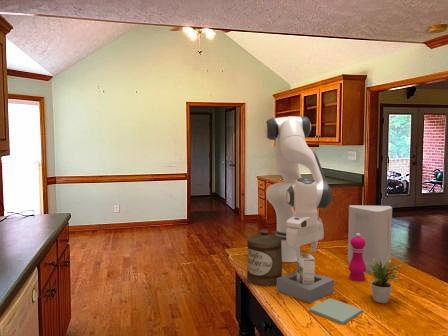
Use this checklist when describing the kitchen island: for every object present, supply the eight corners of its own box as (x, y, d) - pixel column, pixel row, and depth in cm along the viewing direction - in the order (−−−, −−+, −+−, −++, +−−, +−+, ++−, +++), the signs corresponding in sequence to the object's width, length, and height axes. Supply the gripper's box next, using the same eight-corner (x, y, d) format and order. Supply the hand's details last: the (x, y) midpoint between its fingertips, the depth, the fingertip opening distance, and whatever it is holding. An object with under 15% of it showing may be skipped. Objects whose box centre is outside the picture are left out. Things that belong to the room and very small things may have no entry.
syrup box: (295, 288, 152) (296, 253, 151) (310, 288, 152) (310, 253, 151) (299, 294, 146) (300, 258, 145) (314, 293, 147) (315, 257, 146)
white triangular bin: (354, 271, 172) (355, 210, 169) (347, 261, 186) (348, 205, 184) (397, 273, 169) (399, 211, 167) (387, 262, 184) (389, 206, 182)
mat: (309, 311, 132) (309, 308, 132) (329, 300, 140) (329, 298, 140) (342, 324, 122) (342, 321, 122) (362, 312, 131) (362, 309, 131)
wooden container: (240, 280, 161) (240, 229, 160) (261, 271, 172) (261, 223, 171) (268, 289, 151) (268, 235, 150) (288, 279, 162) (289, 229, 161)
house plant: (399, 313, 130) (401, 267, 129) (358, 304, 137) (359, 260, 136) (404, 298, 142) (406, 256, 141) (366, 291, 149) (367, 250, 148)
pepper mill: (367, 282, 159) (368, 235, 157) (349, 280, 160) (350, 234, 158) (364, 276, 166) (365, 231, 164) (347, 274, 167) (348, 230, 166)
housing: (276, 290, 150) (276, 278, 150) (300, 280, 161) (300, 269, 160) (310, 303, 138) (310, 290, 138) (333, 291, 149) (334, 279, 148)
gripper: (314, 215, 156) (314, 247, 157) (283, 222, 143) (283, 258, 143) (327, 217, 152) (327, 250, 152) (296, 224, 138) (296, 261, 139)
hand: (306, 254), depth 148 cm, fingers open, 8 cm apart
